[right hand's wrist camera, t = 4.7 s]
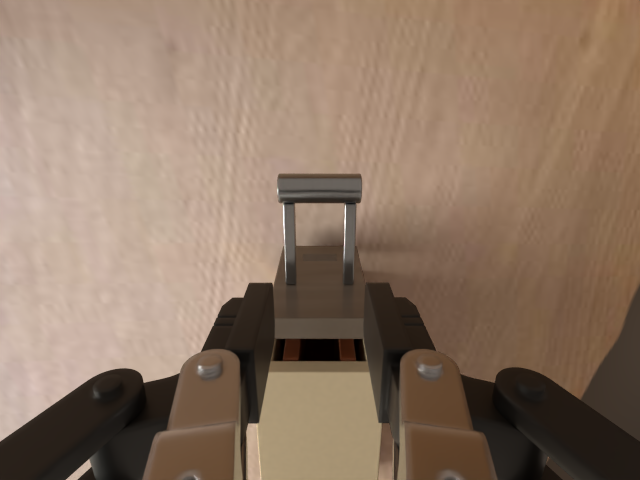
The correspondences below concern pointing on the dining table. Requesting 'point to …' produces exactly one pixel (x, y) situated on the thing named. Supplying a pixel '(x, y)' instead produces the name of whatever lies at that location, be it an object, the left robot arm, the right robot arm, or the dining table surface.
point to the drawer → (319, 275)
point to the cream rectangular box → (319, 420)
